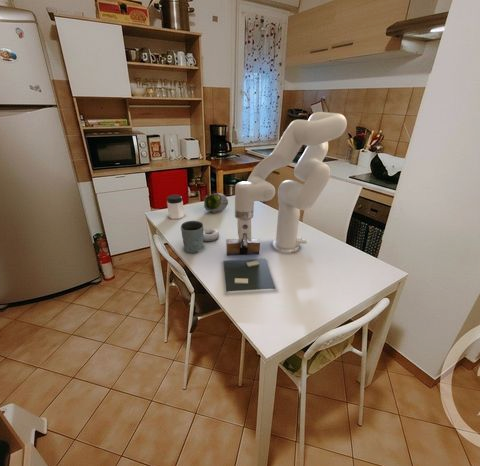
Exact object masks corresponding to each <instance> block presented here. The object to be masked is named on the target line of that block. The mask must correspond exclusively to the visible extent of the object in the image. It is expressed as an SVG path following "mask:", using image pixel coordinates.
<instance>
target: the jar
mask: <svg viewBox="0 0 480 466" xmlns="http://www.w3.org/2000/svg"><path fill="white" fill-rule="evenodd" d="M166 205H167V213H168V217H169V218H170V219H171V220H179V219H182V218H183V217H185V210H184V201H183V197H182V195H180V194H171V195H168V196H166Z"/></svg>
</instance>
